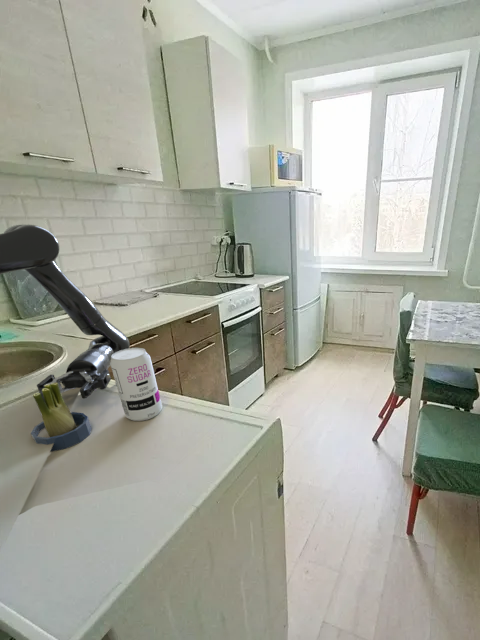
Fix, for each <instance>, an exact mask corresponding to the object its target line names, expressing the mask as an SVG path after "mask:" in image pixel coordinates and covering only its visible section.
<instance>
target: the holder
mask: <svg viewBox="0 0 480 640" xmlns="http://www.w3.org/2000/svg"><path fill="white" fill-rule="evenodd" d="M70 412H71V415H72V417H73V419H74V422H75V425H76V427H77V428H76V429H74V430H72V431H70V432H68V433H65V434H63V435H59V436H54V437H50V436H49V437H45V436H38V435H39V434H40V432H41V431H43V430H44V429H46V428H45V425H44V422H43V421H41V422H40V423H38V424H36V425H34V427H33V429H32V430H31V431H30V435H31V438H32V439H33V441H34V442H35V443H36V444H40V445H52V446H51V448H50V450H49V453H51V452H55V451H56V452H57V451H61V450H66V449H69V448H71V447H74V446H75V445H77V444H78V445H79V444H80V443H82V442H83V441H84V440H86V438H88V437H89V436H90V435H91V432H92V429H93V428H92V425H91V422H90V419H89V416H87V414H85V413H84V412H75V411H70Z"/></svg>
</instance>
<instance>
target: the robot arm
mask: <svg viewBox="0 0 480 640" xmlns="http://www.w3.org/2000/svg"><path fill="white" fill-rule="evenodd" d="M59 254H60V243H59V241H58V239H57V237H55V235H54V234H53V233H52V232H50V231H49V230H48V229H46V228H44V227H42V226H39V225H36V224H29V223H28V224H15V225H11V226H9V227H7V228H6V229H5V231H4V232H3V233H0V275H4V274H9V273H12V272H17V271H18V272H19V271H23V270H24V271H26V272H27V273H28V274H29V275H30V276H31V277H32V278H33V279H35V280H36V282H38V284H40V286H42V288H44V289H45V290H46V292H47V293H48V294H49V295H50V296H51V297H52V298H53V299H54V300H55V302H56V303H57V304H58V305H59V306H60V307H61V309H62V310H63V311H64V313H66V315H67V316H68V317H69V319H71V321H72V322H73V323H74V324H75V325H76V326H77V328H78V329H79V330H80V331H81V332H82V334H84V335H85V336H98V337H96V338H94V339H92V340H91V341H90V342H89V344H88V348H87V349H86V350H85V351H83V352H82V353H80V354H79V355H78V356H77V357H75V359H73V361H71V362H70V363H69V364H68V366H67V368H66V371H65V373H64V374H61V375H60V376H57V377H55V374H49V375H48V376H46V377H45V378H44V379H42V380H41V381H39V383H37V384H36V387H37V390H38V393H40V394H41V396H42V398H43V399H44V397H43V393H42V389H43V388H45V387H44V386H45V385H48V384H49V385H50V384H52V383H58V385H59V389H60V392H61V394H63V393H65V392H68V391H71V390H74V389H79V393H80V397H81V398H82V399H87V398H88V397H89V396H91V395H92V394H93V392H96V391H97V390H98V389H100V390H105V389H106V388H107V387H108V385H109V383H110V382H111V380H112V378H111V375H110V374H111V373H110V371H109V368H111V365H110V362H111V358H112V357H111V356H112V355H113V354H114V353H116V352H118V351H121V350H124V349H129V348H131V344H130V339H129V338H128V337H127V335H126V334H125V333H124V332H123V331H122V330H120V329H119V328H117V327H116V326H115V325H114V324H112V323H111V322H110V321H109V320H108V319H106V318H105V317H104V315H103V314H102V313H101V311H100V310H99V309H98V307H97V306H96V305H95V304H94V303H93V301H92V300H91V299H90V298H89V297H88V296H87V295H86V294H85V292H83V291H82V290H81V289H80V288H79V287H78V286H77V285H76V284H75V283H73V282H72V281H71V280H70V278H68V277H67V275H65V273H64V272H63V271H62V270H61V268H60V267H59V266H58V264H57V263H56V259H58V256H59ZM62 385H63V386H62ZM44 401H45V400H44Z"/></svg>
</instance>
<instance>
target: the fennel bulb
mask: <svg viewBox="0 0 480 640" xmlns="http://www.w3.org/2000/svg"><path fill="white" fill-rule="evenodd" d="M44 387H45V388H43V389H42V393H43V397H44V399H43V398H42V396H41V394H40V393H39V392H36V393H35V392H34V393H33V394H32V396H33V399H34V401H35V403H36V405H37V407H38V410H39V412H40V414H41V419H42V422H44V425H45V428H44V429H45V431H46V432H47V435H48V436H49V437H54V436H59V435H63V434H65V433H68V432H70V431H72V430H74V429H76V428H77V427H78V426H77V425H75V422H74V419H73V417H72V415H71V412H72V411H70V409H69V407H68V405H67V404H66V402H65V400H64V398H63V395H62V393H61V392H60V389H59V385H58V383H52V384H50V385H49V384H48V385H45V386H44ZM44 400H45V401H44Z"/></svg>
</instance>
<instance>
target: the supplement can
mask: <svg viewBox="0 0 480 640" xmlns="http://www.w3.org/2000/svg"><path fill="white" fill-rule="evenodd" d="M111 357H112V358H111V362H110V365H111V366H110V369H111V372H112V375H113V379H114V382H115V385H116V389H117V392H118V395H119V398H120V402H121V405H122V409H123V412H124V415H125V418H127V419H128V420H131V421H134V422H143V421H148V420H150V419H152V418H154V417H157V416H158V414H160V412H161V411H162V409H163V403H162V400H161V395H160V392H159V388H158V387H159V386H158V383H157V379H156V375H155V370H154V367H153V362H152V358H151V355H150V354H149V353H148V352H147V350H146V349H145V348H142V347H130V348H129V349H124V350H121V351H118V352H116V353H114V354H113V355H112V356H111Z"/></svg>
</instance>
